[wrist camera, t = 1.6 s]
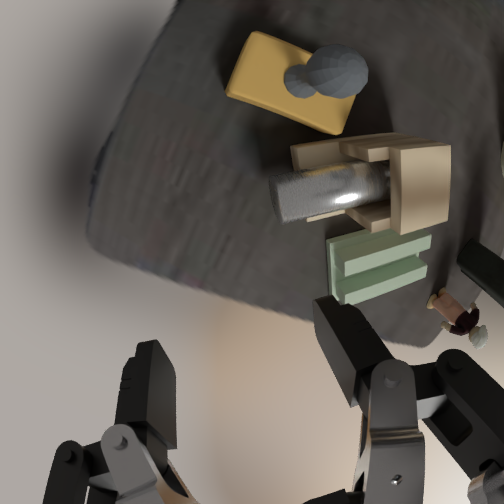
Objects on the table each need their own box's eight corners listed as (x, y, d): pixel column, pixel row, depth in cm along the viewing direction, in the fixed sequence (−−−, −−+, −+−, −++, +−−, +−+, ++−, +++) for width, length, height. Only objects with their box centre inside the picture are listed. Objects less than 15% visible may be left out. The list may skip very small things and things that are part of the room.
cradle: (325, 239, 30) (339, 254, 27) (417, 215, 30) (435, 225, 27) (329, 297, 33) (340, 315, 30) (412, 268, 34) (427, 282, 31)
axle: (274, 214, 25) (286, 231, 22) (266, 171, 23) (278, 182, 20) (400, 186, 26) (424, 198, 22) (399, 149, 24) (424, 157, 21)
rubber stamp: (343, 82, 22) (429, 74, 12) (323, 133, 24) (403, 152, 14) (246, 39, 19) (284, -15, 9) (223, 95, 22) (243, 74, 11)
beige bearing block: (289, 145, 24) (329, 160, 17) (394, 132, 25) (450, 145, 18) (300, 214, 28) (336, 253, 20) (396, 192, 29) (447, 220, 21)
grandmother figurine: (422, 316, 40) (466, 366, 29) (421, 302, 38) (468, 354, 27) (454, 290, 39) (499, 334, 28) (453, 275, 37) (503, 320, 26)
